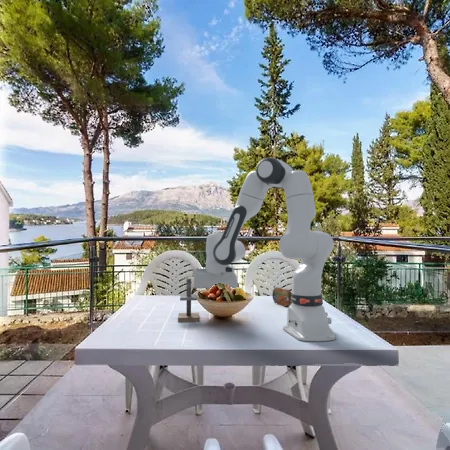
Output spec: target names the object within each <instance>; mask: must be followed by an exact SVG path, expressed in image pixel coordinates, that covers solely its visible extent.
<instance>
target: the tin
mask: <svg viewBox="0 0 450 450" xmlns="http://www.w3.org/2000/svg"><path fill="white" fill-rule="evenodd" d="M271 294H272V300H273V302H274V304H276V303H277V305H279V306H282V307H290V306H291V304H292V302H291V296H292V291H291V290H289V289H287V288H284V287H274V289H273V290H272V293H271Z"/></svg>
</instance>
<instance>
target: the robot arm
mask: <svg viewBox="0 0 450 450" xmlns="http://www.w3.org/2000/svg"><path fill="white" fill-rule="evenodd" d="M255 169H256V170H252V171H250V172H248V174H247V175H246V176H245V178H244V181H243V183H242V185H241V188H240V191H239V194H238V196H237V200H236V202H235V205H234V207H233V210H232V212H231V214H230V216H229V219H228V220H227V221H228V222H227V224H226V226H225V228H224V231H221V232H213V233H210V234H208V235H207V237H206V243H205V254H206V260H205V267H196V268H194V269H193V270H192V277H193V283H192V285H193V288H194V289H207V290H208V289H210V288H211V287H212V286H213V285H215V284H217V283H221V284H227V285H229V286H230V287H232V288H231V289H237V287H238V277H237V274H236V272H235V270H236V269H235V266H233V265H231V264H232V263H236V262H238V261H241V260H242V259H243V258H244V257H245V256H246V250H247V249H246V247H245V245H244V242H242V241H240V240H238V238H239V236H240V233H241V231H242V228H243V227H244V224H245V223H246V222H247V221H249V220H250V219H251V218H253V217H255V216H256V215H257V214H258V213H259V212H260V210H261V208H262V206H263V203H264V201H265V197H266V196H267V195H266V194H267V192H268V190H269V189H270V188H271V189H282V190H283V191H284V196H285V204H286V211H287V212H286V213H287V225H286V229H285V232H284V233H283V235H282V236H281V237H280V239H279V243H278V249H279V252H280V253H281V255H282V256H283V257H284V258H285V259H290V260H295V261H297V260H299V261H300V262H299V264H298V266H297V267H296V269H295V270H294V271H293V274H292V291H291V293H292V296H291V302H292V304H291V305H290V306H288V307H287V314H286V325H283V327H282V330H283V331H285V332H286V333H288V334H289V335H291V336H292V337H293V338H295V339H297V340H298V341H304V342H328V341H334V340H336V335H335V334H334V332H333V330H332V327H331V326H330V325H332V323H333V322H332V317H328V312H327V311H325V310H326V309H325V307H324V306H323V305H324V301H323V300H324V299H323V293H322V274H323V270H324V267H325V263H326V261H327V259H328V257H329V256H330V254H331V253H332V251H333V250H334V246H335V245H334V239H333V237H332V236H331V234H329V233H328V232H325V231H322V230H311V224H312V220H313V219H314V218H315V217H316V214H317V209H316V204H315V199H314V198H315V197H314V192H313V188H312V184H311V181H310V178H309V175H308V174H307V172H305V171H304V170H297V169H296V170H295V168H294V167H293V166H292V165H291V164H288V163H286V162H284V161H283V160H280V159H277V158H275V157H264V158H263V159H261V160H259V162H258V163H257V164H256V168H255ZM211 289H212V288H211Z"/></svg>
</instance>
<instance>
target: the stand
mask: <svg viewBox="0 0 450 450" xmlns="http://www.w3.org/2000/svg"><path fill="white" fill-rule="evenodd" d="M185 289H186V293H185V294H182V293H181V294H180V297H179V301H180V302H181V301H185V302H186V312H179V313H178V316H177V322H179V323H180V322H181V323H182V322H200V312H192V301H198V295H197V296H196V295H195V294H196V293H192V278H186V288H185Z"/></svg>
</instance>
